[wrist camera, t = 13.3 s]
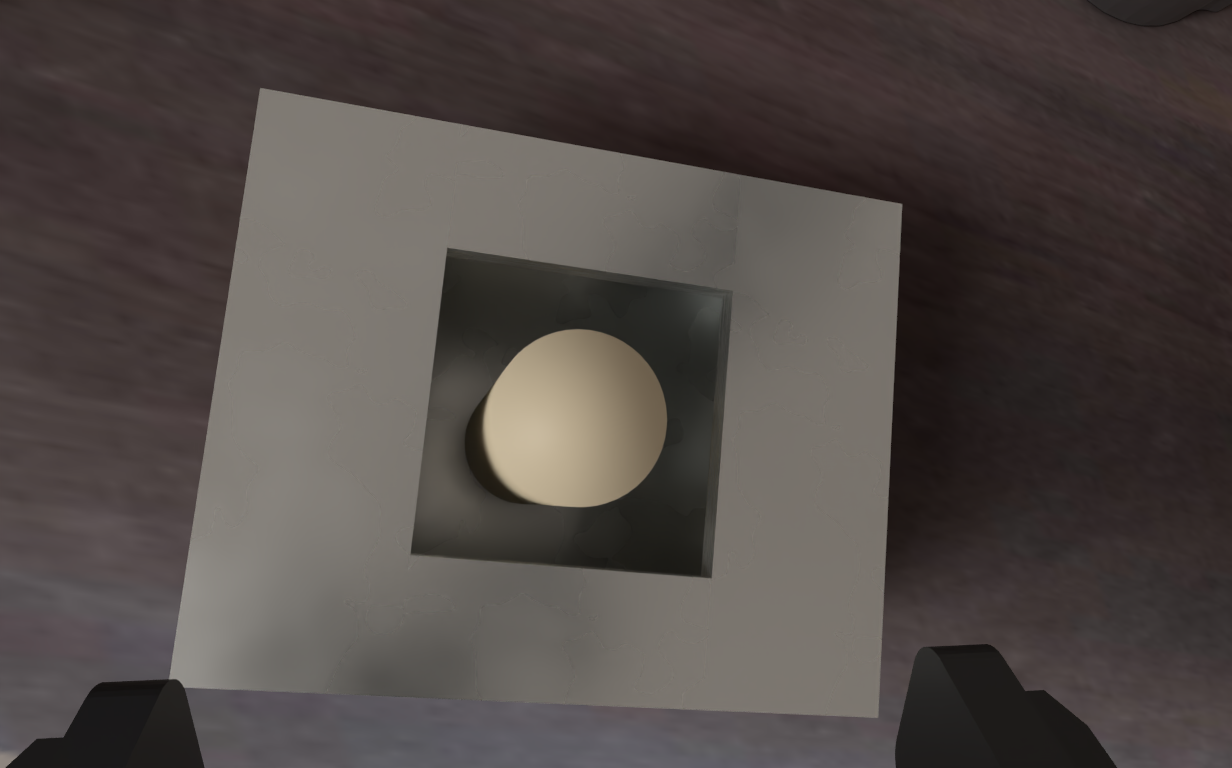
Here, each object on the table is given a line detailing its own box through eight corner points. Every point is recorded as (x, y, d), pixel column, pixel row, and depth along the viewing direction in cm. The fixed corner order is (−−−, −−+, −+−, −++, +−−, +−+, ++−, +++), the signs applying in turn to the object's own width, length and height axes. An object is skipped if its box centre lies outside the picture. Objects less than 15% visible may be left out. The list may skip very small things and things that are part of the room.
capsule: (590, 390, 31) (673, 341, 21) (579, 509, 30) (659, 514, 21) (471, 376, 30) (501, 318, 20) (457, 498, 29) (481, 498, 20)
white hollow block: (756, 287, 34) (902, 204, 24) (731, 650, 32) (877, 717, 22) (303, 218, 30) (260, 87, 20) (246, 621, 28) (167, 686, 19)
